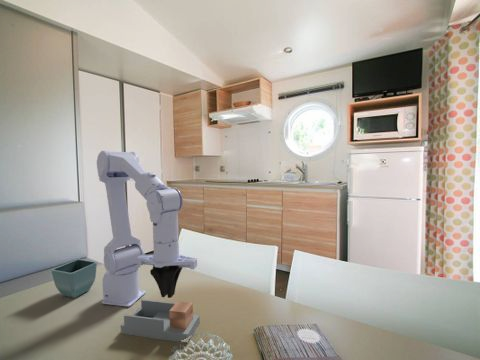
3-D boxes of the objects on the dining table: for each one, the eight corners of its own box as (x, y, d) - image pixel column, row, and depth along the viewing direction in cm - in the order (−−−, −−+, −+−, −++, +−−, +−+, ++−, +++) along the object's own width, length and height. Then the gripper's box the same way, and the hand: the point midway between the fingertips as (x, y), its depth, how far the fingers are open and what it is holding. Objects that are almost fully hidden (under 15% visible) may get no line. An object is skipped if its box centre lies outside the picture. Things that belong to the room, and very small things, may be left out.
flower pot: (72, 303, 70) (71, 273, 70) (52, 298, 73) (50, 269, 73) (99, 288, 79) (97, 261, 78) (79, 284, 81) (78, 258, 81)
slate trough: (121, 333, 57) (120, 315, 57) (139, 315, 64) (138, 299, 63) (187, 343, 53) (187, 323, 53) (199, 323, 60) (199, 305, 60)
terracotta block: (169, 327, 56) (169, 310, 55) (178, 316, 60) (177, 301, 59) (185, 329, 55) (185, 312, 55) (193, 318, 59) (192, 302, 58)
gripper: (128, 243, 54) (130, 301, 55) (187, 246, 51) (189, 308, 52) (146, 234, 61) (148, 286, 62) (199, 237, 58) (201, 291, 59)
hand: (168, 295), depth 58 cm, fingers closed
